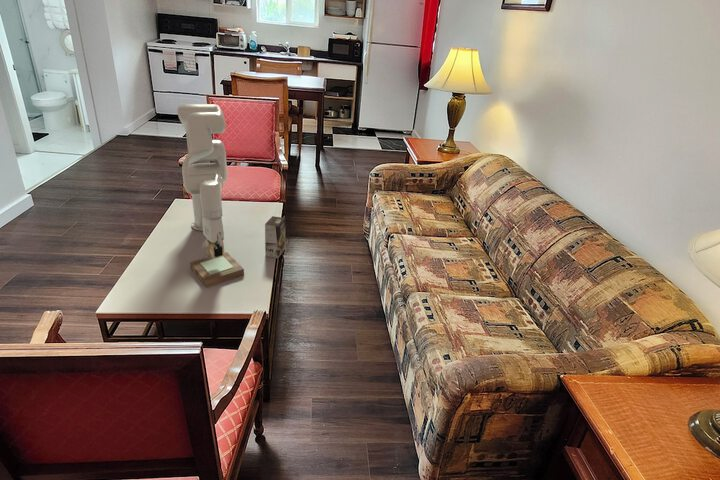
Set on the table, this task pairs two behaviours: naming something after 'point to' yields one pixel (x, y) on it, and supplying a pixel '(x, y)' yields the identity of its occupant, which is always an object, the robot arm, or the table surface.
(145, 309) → the table surface
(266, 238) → the coffee box
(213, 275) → the walnut base
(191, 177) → the robot arm
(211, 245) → the maple block
